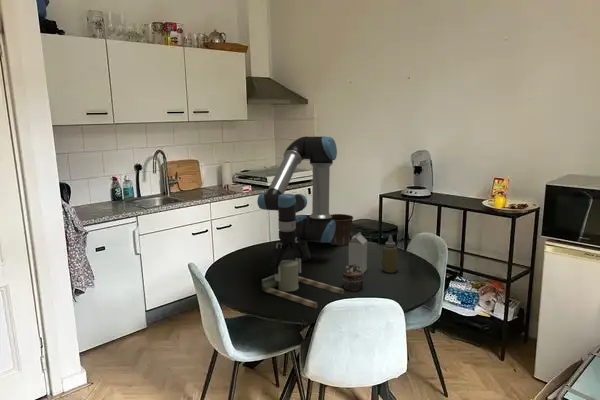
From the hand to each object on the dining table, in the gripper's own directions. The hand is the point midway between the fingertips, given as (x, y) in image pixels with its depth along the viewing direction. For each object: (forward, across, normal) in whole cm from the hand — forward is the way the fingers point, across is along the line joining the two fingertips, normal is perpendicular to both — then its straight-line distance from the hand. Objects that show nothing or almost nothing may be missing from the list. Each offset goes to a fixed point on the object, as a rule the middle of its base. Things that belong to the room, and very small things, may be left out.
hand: (288, 276), depth 199 cm
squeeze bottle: (+6, +47, -24) cm, 53 cm away
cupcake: (+6, +18, -22) cm, 29 cm away
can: (+6, 0, 0) cm, 6 cm away
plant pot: (+6, +72, +24) cm, 76 cm away
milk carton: (+6, +37, -12) cm, 39 cm away
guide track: (+5, 0, -8) cm, 10 cm away
